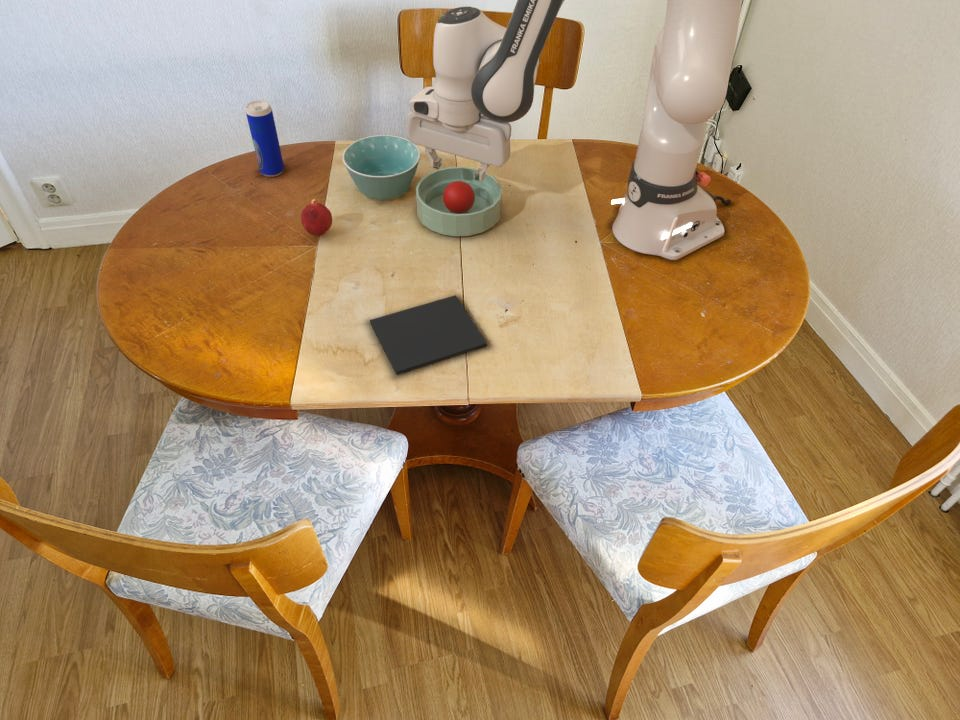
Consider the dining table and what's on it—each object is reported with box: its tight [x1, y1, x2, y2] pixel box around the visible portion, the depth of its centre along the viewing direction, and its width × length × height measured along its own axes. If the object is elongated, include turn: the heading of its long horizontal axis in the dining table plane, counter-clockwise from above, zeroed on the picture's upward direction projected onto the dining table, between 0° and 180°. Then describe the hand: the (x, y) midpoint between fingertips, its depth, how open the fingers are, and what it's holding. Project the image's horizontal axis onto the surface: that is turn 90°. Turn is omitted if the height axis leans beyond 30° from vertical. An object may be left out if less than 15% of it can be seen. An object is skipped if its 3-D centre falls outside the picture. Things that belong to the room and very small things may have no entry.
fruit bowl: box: [415, 166, 503, 237], centre depth 139 cm, size 17×17×6 cm
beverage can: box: [245, 99, 285, 178], centre depth 144 cm, size 5×5×15 cm
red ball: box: [443, 181, 475, 214], centre depth 138 cm, size 6×6×6 cm
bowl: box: [342, 134, 421, 202], centre depth 143 cm, size 16×16×8 cm
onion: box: [300, 198, 333, 237], centre depth 132 cm, size 6×6×8 cm
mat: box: [369, 295, 488, 376], centre depth 116 cm, size 16×13×1 cm
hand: (458, 173), depth 134 cm, fingers open, 8 cm apart
